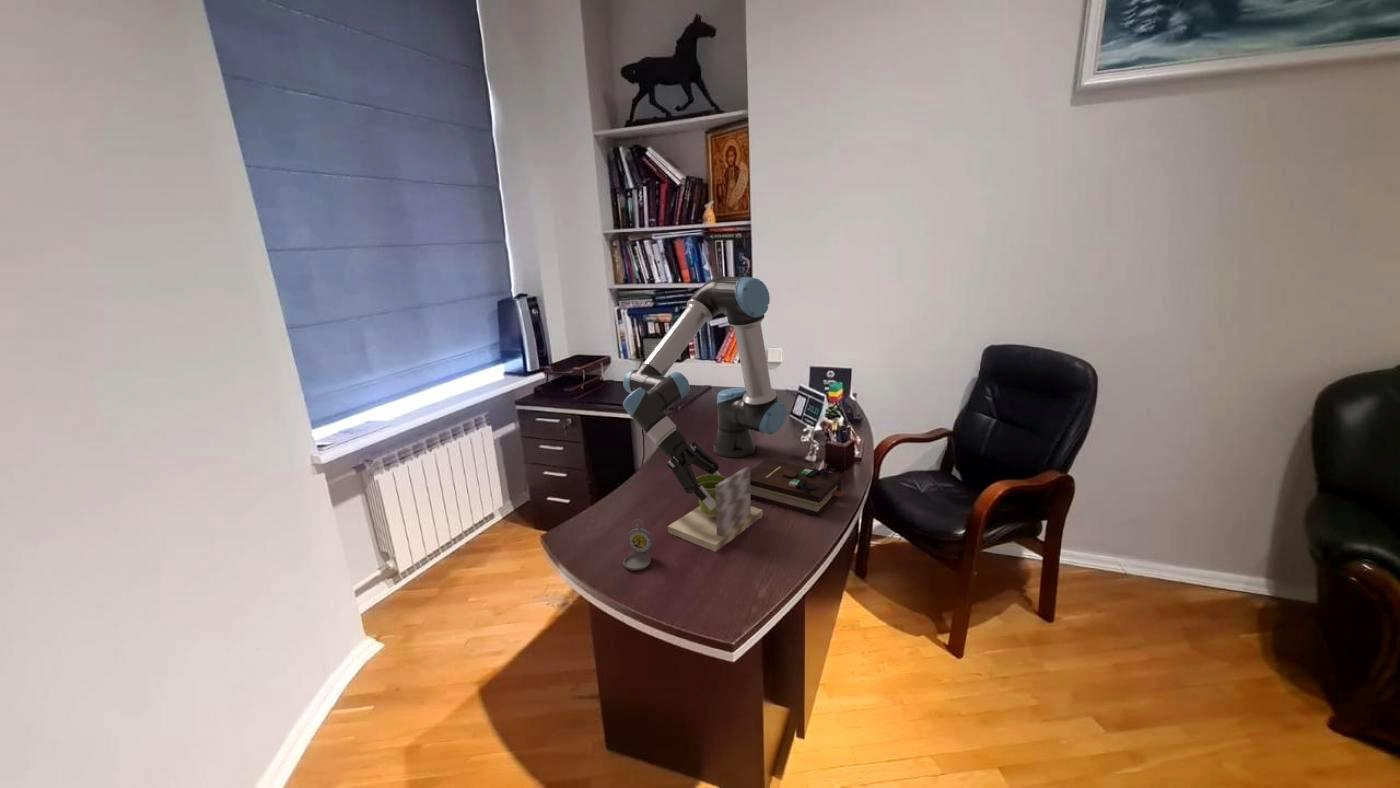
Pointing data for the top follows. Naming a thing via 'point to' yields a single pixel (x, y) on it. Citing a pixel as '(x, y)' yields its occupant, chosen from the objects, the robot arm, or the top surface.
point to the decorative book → (794, 487)
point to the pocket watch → (638, 548)
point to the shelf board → (720, 515)
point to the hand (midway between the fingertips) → (722, 499)
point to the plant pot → (709, 489)
